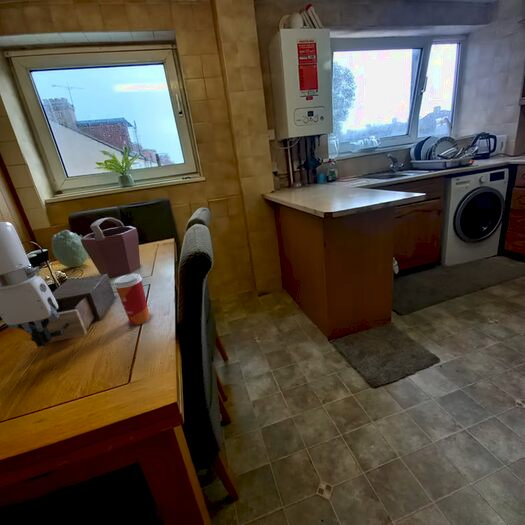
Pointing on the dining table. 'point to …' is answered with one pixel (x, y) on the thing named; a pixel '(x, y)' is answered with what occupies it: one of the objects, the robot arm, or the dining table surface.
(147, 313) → the paper cup
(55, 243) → the cabbage
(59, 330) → the drawer
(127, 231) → the bucket
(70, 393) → the dining table surface
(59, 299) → the cabinet
